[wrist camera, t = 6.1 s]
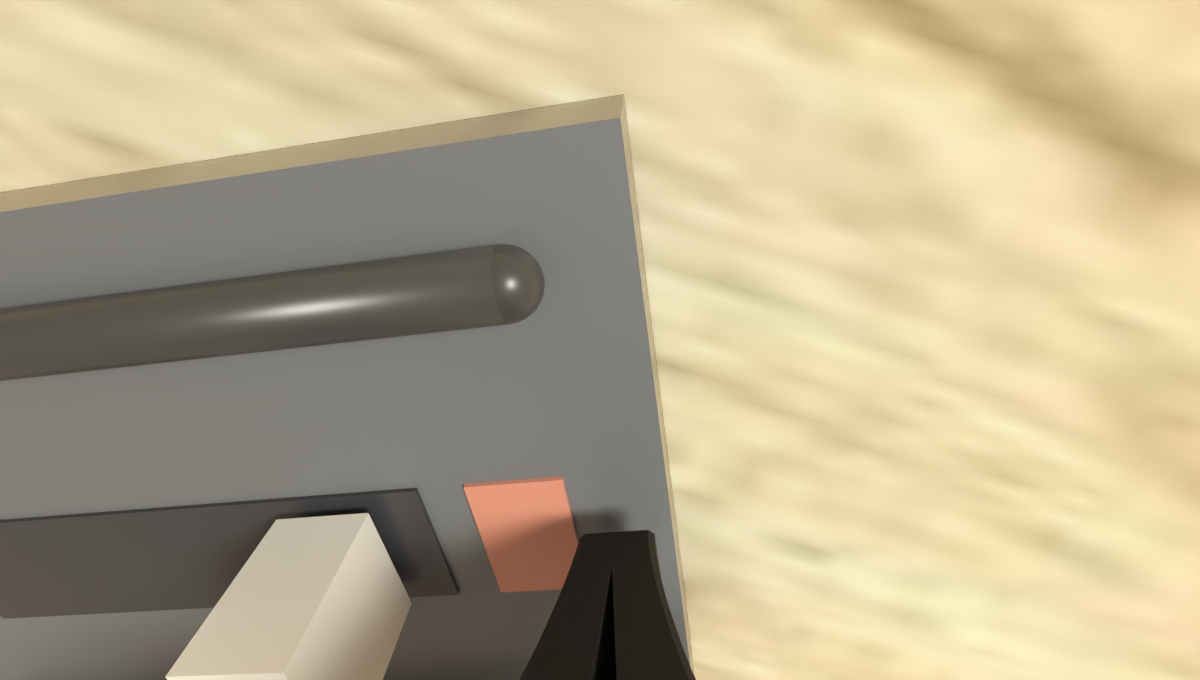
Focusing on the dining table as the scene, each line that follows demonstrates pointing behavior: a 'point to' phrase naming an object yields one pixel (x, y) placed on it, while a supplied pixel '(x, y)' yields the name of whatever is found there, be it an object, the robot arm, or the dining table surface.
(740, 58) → the dining table surface
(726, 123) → the dining table surface
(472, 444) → the breaker panel
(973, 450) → the dining table surface
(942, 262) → the dining table surface
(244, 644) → the breaker toggle
